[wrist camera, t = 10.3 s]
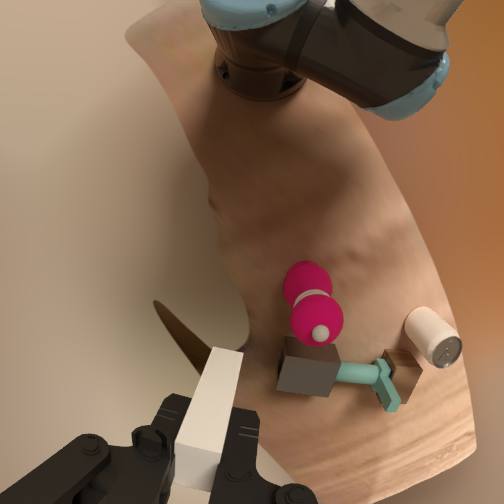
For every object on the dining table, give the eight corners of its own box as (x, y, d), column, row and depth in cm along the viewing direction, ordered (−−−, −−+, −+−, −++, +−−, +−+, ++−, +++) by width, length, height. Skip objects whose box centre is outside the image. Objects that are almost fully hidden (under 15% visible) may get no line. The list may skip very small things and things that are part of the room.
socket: (385, 349, 50) (396, 368, 43) (409, 351, 50) (422, 370, 43) (371, 382, 52) (380, 403, 45) (395, 383, 51) (405, 404, 45)
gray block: (285, 336, 51) (285, 355, 44) (334, 344, 50) (341, 363, 44) (276, 368, 52) (275, 390, 46) (323, 375, 52) (328, 397, 45)
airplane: (316, 373, 50) (323, 414, 40) (323, 351, 49) (333, 389, 39) (393, 381, 50) (412, 417, 39) (403, 360, 49) (425, 395, 38)
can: (438, 310, 48) (471, 338, 36) (423, 341, 49) (450, 373, 37) (413, 301, 48) (444, 329, 36) (397, 332, 49) (422, 366, 37)
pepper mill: (318, 305, 49) (340, 373, 30) (277, 294, 49) (276, 358, 30) (333, 264, 48) (367, 313, 28) (290, 252, 48) (298, 295, 28)
